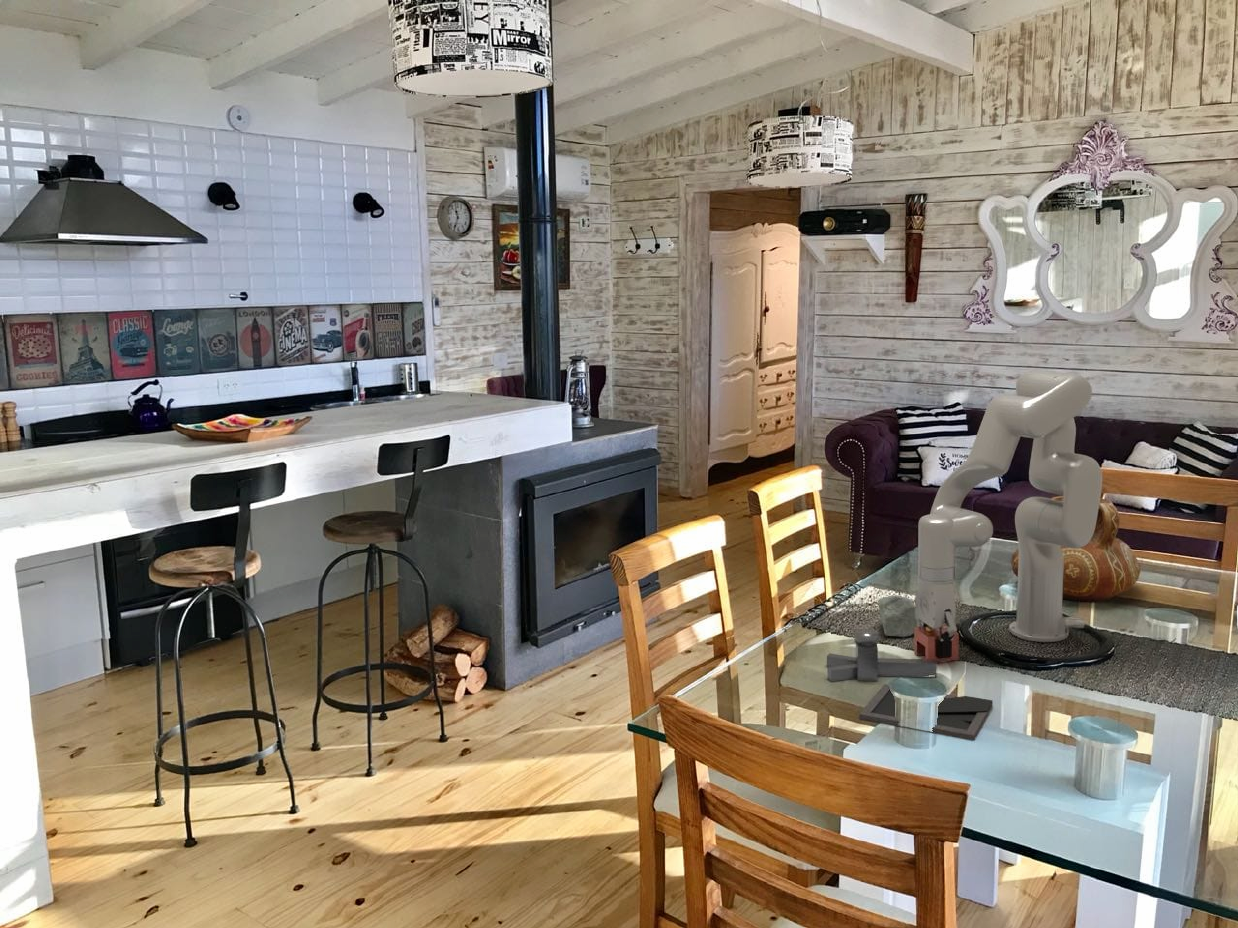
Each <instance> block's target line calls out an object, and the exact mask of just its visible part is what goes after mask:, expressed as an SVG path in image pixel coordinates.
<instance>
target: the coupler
mask: <svg viewBox="0 0 1238 928" xmlns="http://www.w3.org/2000/svg"><path fill="white" fill-rule="evenodd" d="M853 632H854V633H853V636H854V637H853V638H854V640H853V642H854V643H855V656H850V655H849V656H848V655H844V654H837V653H830V652H829V653H828V654H827V655H826V667H827V679H828V680H829V681H830V683H831V682H838V681H846V680H854V679H857V681H862V682H863V681H864V682H878V681H879V680H878V678H879V677H903V678H904V677H905V678H908V677H909V678H915V677H914V676H929V675H935V676H936V677H937V663H936V661H935V659H925V658H892V657H891V658H890V657H889V658H887V657H882V658H881V657H878V653H879V652H878V651H879V650H878V649H879V648H878V644H880V632H879V631H878V630H876V629H873V628H859V629H855V630H854V631H853Z"/></svg>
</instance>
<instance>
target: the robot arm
mask: <svg viewBox="0 0 1238 928" xmlns="http://www.w3.org/2000/svg"><path fill="white" fill-rule="evenodd" d="M1015 391H1016V394H1017V395H1015V394H1014V395H1013V394H1002V395H997V396H996V397H994V398H992V399H991V400H990V402H988V405H987V407H986V409H985V412H984V415H983V417H982V421H980V426H979V429H978V431H977V434H976V435H975V438H974V441H973V444H972V447H971V450H970V453H969V455H968V457H967V458H966V460H965V461H964V462H963V463H962V464H960V465H959V466H958V467H957V468H955V470H953V472H952V473H951V474H949V475H948V477H947V478H946V479H945V480H944V481H943V482H942V484H941V485H940V487H939V489H938V491H937V493H936V495H935V498H934V500H933V504H932V506H931V510H930V513H929V514H926V515H923V516H921V517H920V518H919V520H918V531H917V532H918V535H917V537H918V540H917V541H918V543H917V545H918V547H917V548H918V551H917V553H918V555H917V556H918V557H917V561H918V564H917V567H918V570H917V573H918V575H917V580H916V581H917V582H916V587H915V588H916V589H915V602H914V603H915V604H914V605H915V614H916V616H917V618H918V620H920V622H919V627H921V626H930V627H931V628H933V629H937V633H938V639H939V640H937V658H938V659H943V658H950V657H951V656H952V640H953V637H954V634H955V633H956V632H957V631H958V628H957V626H956V613H957V611H956V610H957V609H956V595H955V594H956V593H955V585H954V582H955V581H956V549H959V548H960V549H961V548H966V549H967V548H969V549H971V548H979V547H982V546H984V545H986V544H987V543H988V542H989V541H990V540H991V539H992V536H993V533H994V525H993V523H992V521H991V520H990V518H989V517H987V516H986V515H984V514H983V513H980V512H977V511H973V510H969V509H967V508H962V504H963V502H964V500H965V498H966V496H967V495H968V494H969V492H970V491H972V490H973V489H974V488H975V487H976V486H979V485H980V484H982V483H984V482H986V481H989V480H992V479H994V478H998V477H1001V476H1003V475H1005V474H1006V473H1007V472H1008V471H1009V469H1010V466H1011V462H1012V459H1013V457H1014V454H1015V451H1016V449H1017V446H1018V444H1019V441H1020V440H1021V437H1023V438H1030V439H1033V441H1032V448H1031V456H1030V462H1029V469H1028V475H1029V476H1028V480H1029V482H1030V484H1031V486H1033V488H1035V489H1037V490H1039V491H1043V492H1046V493H1050V494H1055V495H1058V496H1064V500H1063V502H1062V501H1059V500H1054V499H1051V497H1050V498H1049V497H1046V496H1045V497H1044V496H1030V497H1028V498H1025V499H1024V500H1022V501H1021V502H1020V503H1019V504H1018V506H1017V508H1016V510H1015V513H1014V524H1015V530H1016V531H1015V532H1016V536H1017V542H1018V543H1017V544H1018V545H1017V546H1018V548H1019V562H1018V577H1017V593H1016V594H1017V597H1016V621H1012V622H1011V623H1010V624H1009V625H1008V631H1009V633H1010V632H1011V633H1012V634H1011V633H1010V634H1011V635H1013V636H1014V635H1015V636H1014V637H1016V636H1017V637H1016V638H1019V639H1022V640H1026V641H1030V642H1040V643H1052V642H1053V643H1054V642H1060V641H1063V640H1065V639H1067V638H1068V637H1069V629H1070V628H1075V629H1084V628H1085V620H1084V619H1082V618H1081V619H1077V618H1076V617H1075V616H1065V615H1063V600H1062V596H1063V572H1064V557H1063V552H1062V549H1061V546H1063V547H1067V548H1073V549H1077V548H1081V547H1084V546H1085V545H1086V544H1088V542H1089V541H1090V540H1091V538H1092V536H1093V534H1094V530H1095V526H1096V521H1097V515H1098V509H1099V503H1100V498H1101V495H1102V489H1103V471H1102V469H1101V467H1100V464H1099V463H1098V462H1097V460H1095V459H1094V458H1093V457H1090V456H1088V455H1085V454H1081V453H1075V443H1076V435H1077V434H1076V433H1077V426H1076V423H1075V417H1076V416H1078V415H1079V414H1081V413H1082V412H1083V411H1084V410H1085V409H1086V408H1087V407H1088V406H1089V404H1090V401H1091V399H1092V393H1093V390H1092V386H1091V383H1090V382H1089V380H1088V378H1086V377H1084V376H1082V375H1081V374H1077V373H1071V372H1070V373H1069V372H1057V371H1052V370H1051V371H1050V370H1049V371H1048V370H1036V369H1035V370H1028V371H1025V372H1023V373H1021V374H1020V375H1019V376H1018V377H1017V380H1016V383H1015ZM942 624H945V625H946V626H942ZM942 629H947V631H946V632H944V634H942Z"/></svg>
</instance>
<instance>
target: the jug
mask: <svg viewBox="0 0 1238 928" xmlns="http://www.w3.org/2000/svg"><path fill="white" fill-rule="evenodd" d="M1050 499H1054V500H1059V501H1062V502H1063V500H1064V496H1063V495H1058V496H1052V497H1050ZM1119 527H1120V514H1119V511H1118V508H1117V507H1116V506H1115V505H1114V504H1113V502H1112V501H1111V500H1109V499H1108V498H1107V499H1106V498H1103V497H1102V498H1101V497H1100V503H1099V509H1098V515H1097V521H1096V526H1095V530H1094V534H1093V536H1092V538H1091V540H1090V541H1089V542H1088V544H1086V545H1085V546H1084V547H1081V548H1077V549H1073V548H1067V547H1063V546H1061V549H1062V552H1063V557H1064V572H1063V596H1062V601H1065V602H1071V603H1072V602H1073V603H1081V604H1086V603H1087V604H1096V603H1102V602H1107V601H1109V600H1111V599H1113V598H1116V597H1117V596H1119V595H1121V594H1124V592H1125V591H1126V592H1127V591H1128V590H1130V589H1131V588H1132V587H1134V585H1135V584H1136V583H1137V581H1138V580H1139V578H1140V574H1141V566H1140V563H1139V561H1138V559H1137V557H1136V554H1135V552H1134V551H1133V550H1132V549H1131V547H1130V546H1129V545H1128V544H1127V543H1125V542H1124V541H1123V540H1121V539H1120V538H1119V537H1118V538H1117V537H1116V536H1117V533H1118V531H1119ZM1018 562H1019V547H1017V549H1016V550H1015V552H1014V553H1013V554H1012V556H1011V560H1010V564H1011V568H1012V572H1013V574H1014V575H1015V576H1016V577H1017V578H1018Z"/></svg>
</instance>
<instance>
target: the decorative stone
mask: <svg viewBox="0 0 1238 928" xmlns="http://www.w3.org/2000/svg"><path fill="white" fill-rule="evenodd" d="M877 604H878V609H879V613H880V618H881V623H882V627H883V632H884V635H885V636H886V637H888V636H890V637H899V638H906V637H910V636H912V635H914V627H920V622H919V620H920V619H919V618H917V616H916V614H915V604H914V602H913V601H912V600H911V599H910V598H909V597H906V596H902V595H888V596H885V597H882V598H879V599H878V600H877Z"/></svg>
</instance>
